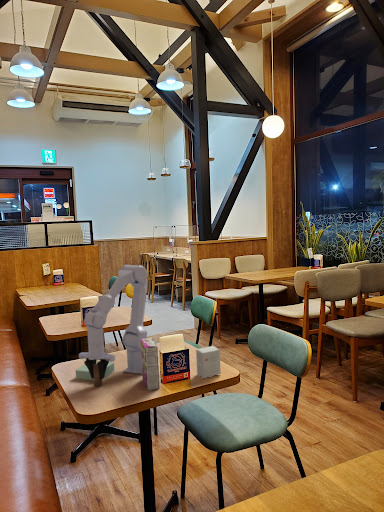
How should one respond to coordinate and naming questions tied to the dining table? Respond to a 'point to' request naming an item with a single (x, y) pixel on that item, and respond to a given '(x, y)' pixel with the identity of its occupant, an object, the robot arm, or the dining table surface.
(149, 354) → the candy bar box
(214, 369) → the small box
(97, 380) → the walnut peg
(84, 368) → the socket block
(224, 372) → the dining table surface
